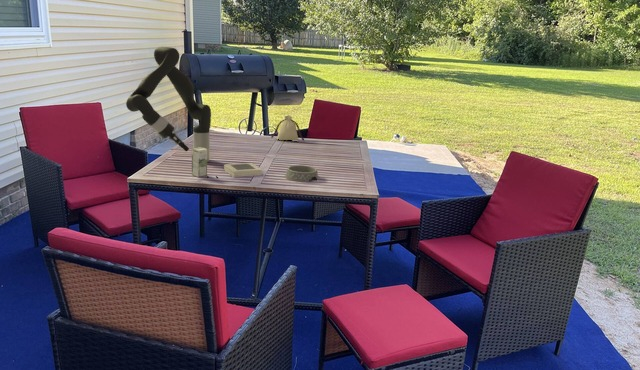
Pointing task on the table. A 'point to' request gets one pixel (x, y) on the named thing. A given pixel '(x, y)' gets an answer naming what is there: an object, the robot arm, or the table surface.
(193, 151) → the syrup box
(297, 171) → the dog bowl
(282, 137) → the pouch
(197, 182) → the table surface
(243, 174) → the plinth
